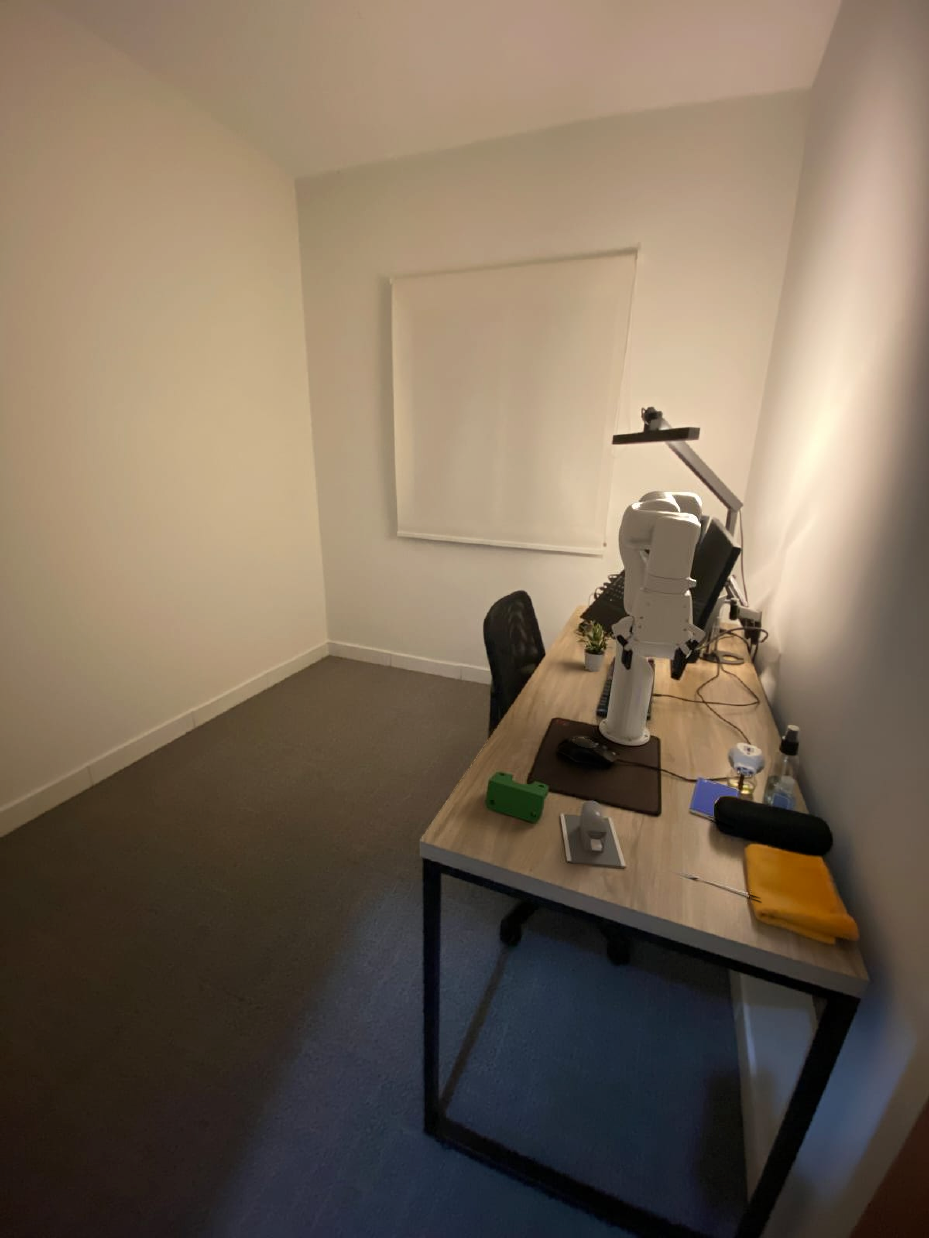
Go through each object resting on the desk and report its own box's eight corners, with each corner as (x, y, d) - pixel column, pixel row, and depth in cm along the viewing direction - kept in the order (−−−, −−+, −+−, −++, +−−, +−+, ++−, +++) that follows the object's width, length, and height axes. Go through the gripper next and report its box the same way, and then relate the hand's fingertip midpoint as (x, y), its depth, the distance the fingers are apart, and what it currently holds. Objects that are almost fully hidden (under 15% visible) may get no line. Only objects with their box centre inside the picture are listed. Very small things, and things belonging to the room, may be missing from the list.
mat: (559, 815, 97) (560, 813, 97) (611, 819, 96) (611, 818, 96) (567, 862, 85) (567, 860, 85) (625, 868, 85) (625, 865, 85)
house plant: (563, 659, 174) (567, 615, 169) (599, 658, 177) (605, 615, 172) (579, 676, 161) (584, 629, 156) (618, 674, 163) (625, 628, 158)
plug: (579, 825, 93) (582, 799, 92) (597, 827, 93) (601, 801, 91) (585, 857, 86) (589, 829, 84) (605, 859, 86) (610, 831, 84)
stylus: (641, 849, 88) (761, 887, 81) (640, 853, 88) (760, 892, 81) (639, 865, 85) (764, 906, 78) (638, 870, 85) (763, 911, 78)
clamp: (533, 825, 100) (557, 791, 98) (526, 838, 95) (551, 802, 92) (486, 787, 104) (508, 754, 102) (476, 798, 98) (499, 762, 96)
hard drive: (698, 776, 109) (690, 807, 99) (739, 789, 105) (735, 823, 95) (696, 782, 110) (688, 813, 100) (737, 795, 106) (733, 829, 96)
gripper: (706, 582, 94) (689, 664, 99) (614, 577, 95) (603, 658, 101) (722, 592, 87) (703, 680, 92) (623, 586, 88) (610, 673, 93)
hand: (651, 668), depth 96 cm, fingers open, 9 cm apart
